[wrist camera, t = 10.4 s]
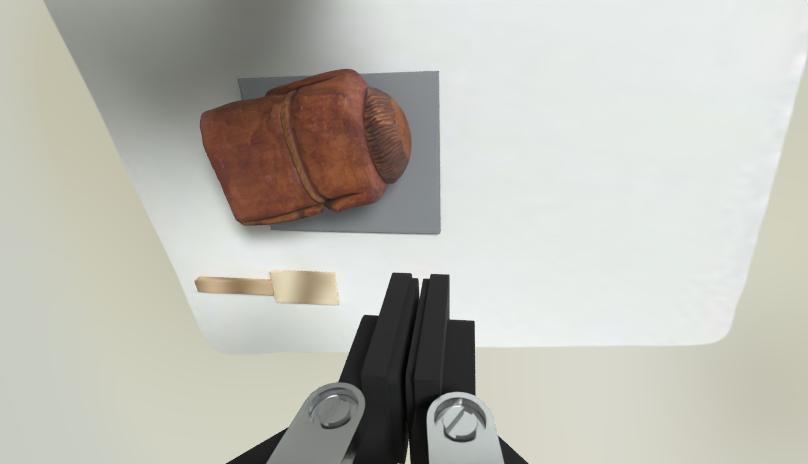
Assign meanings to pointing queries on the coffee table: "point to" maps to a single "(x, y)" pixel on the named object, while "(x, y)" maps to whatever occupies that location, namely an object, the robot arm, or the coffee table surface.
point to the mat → (420, 183)
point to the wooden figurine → (307, 148)
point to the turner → (280, 286)
